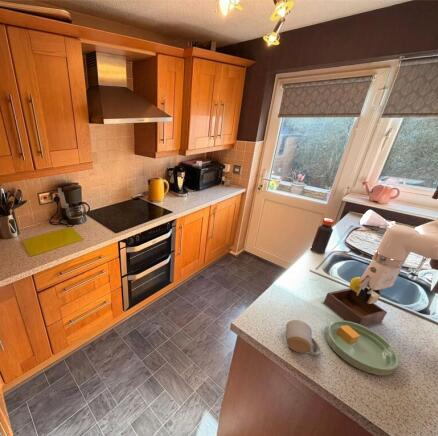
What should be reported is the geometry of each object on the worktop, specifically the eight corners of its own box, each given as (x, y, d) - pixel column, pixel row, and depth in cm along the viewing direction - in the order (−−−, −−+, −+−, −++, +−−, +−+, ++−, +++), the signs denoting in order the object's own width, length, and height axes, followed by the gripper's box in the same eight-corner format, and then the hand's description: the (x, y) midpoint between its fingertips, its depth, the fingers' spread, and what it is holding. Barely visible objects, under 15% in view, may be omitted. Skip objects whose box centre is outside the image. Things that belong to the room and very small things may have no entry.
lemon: (364, 292, 104) (371, 278, 101) (359, 297, 102) (367, 283, 98) (349, 286, 109) (355, 272, 105) (344, 290, 106) (351, 276, 102)
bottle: (325, 254, 132) (338, 223, 124) (312, 252, 134) (323, 221, 126) (322, 248, 138) (334, 218, 129) (309, 246, 140) (319, 217, 132)
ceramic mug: (283, 348, 80) (290, 333, 76) (283, 330, 86) (289, 316, 83) (320, 363, 75) (328, 348, 72) (317, 343, 82) (325, 328, 79)
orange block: (343, 331, 85) (347, 324, 84) (356, 342, 81) (360, 335, 80) (336, 333, 85) (339, 326, 83) (349, 344, 81) (352, 337, 79)
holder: (346, 298, 102) (351, 287, 99) (380, 323, 90) (387, 312, 87) (323, 303, 99) (327, 292, 96) (355, 329, 87) (362, 318, 84)
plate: (351, 322, 90) (354, 316, 88) (408, 368, 74) (414, 361, 72) (313, 332, 86) (316, 325, 84) (365, 383, 70) (370, 375, 68)
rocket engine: (405, 217, 156) (373, 207, 162) (400, 231, 153) (368, 220, 160) (392, 224, 166) (363, 213, 173) (388, 237, 163) (358, 226, 170)
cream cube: (363, 293, 90) (367, 286, 89) (376, 302, 86) (380, 295, 85) (356, 295, 90) (360, 288, 88) (369, 303, 86) (373, 296, 84)
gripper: (382, 268, 75) (360, 310, 83) (418, 262, 79) (393, 302, 86) (358, 256, 82) (339, 295, 89) (392, 250, 85) (371, 288, 93)
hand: (366, 298), depth 88 cm, fingers closed on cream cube, 3 cm apart
